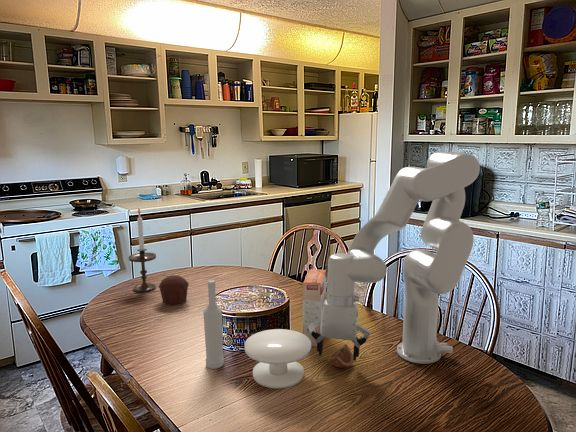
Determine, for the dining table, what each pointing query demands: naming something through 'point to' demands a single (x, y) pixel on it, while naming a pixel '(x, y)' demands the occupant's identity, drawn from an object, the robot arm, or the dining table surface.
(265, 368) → the cake stand
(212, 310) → the bottle
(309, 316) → the cracker box
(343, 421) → the dining table surface
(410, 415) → the dining table surface
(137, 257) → the candlestick
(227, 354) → the dining table surface
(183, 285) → the muffin
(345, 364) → the fruit slice
